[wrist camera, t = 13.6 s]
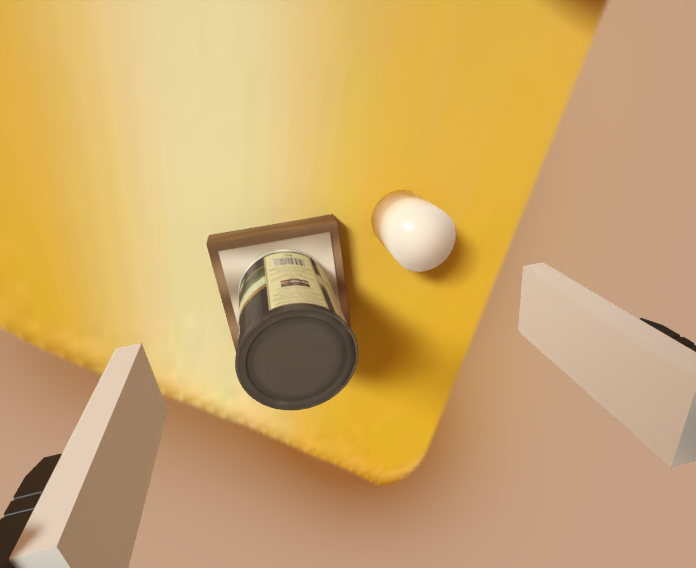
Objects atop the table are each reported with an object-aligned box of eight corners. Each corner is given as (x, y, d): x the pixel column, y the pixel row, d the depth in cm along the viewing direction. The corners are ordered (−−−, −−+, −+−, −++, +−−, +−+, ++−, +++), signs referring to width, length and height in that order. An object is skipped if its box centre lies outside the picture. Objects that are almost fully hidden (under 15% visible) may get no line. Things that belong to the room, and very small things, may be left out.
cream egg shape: (368, 195, 49) (389, 213, 42) (426, 185, 50) (455, 201, 43) (373, 251, 52) (394, 277, 45) (427, 241, 53) (455, 265, 46)
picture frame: (208, 235, 47) (206, 245, 44) (332, 214, 49) (337, 222, 46) (237, 340, 53) (236, 355, 50) (346, 318, 55) (351, 331, 52)
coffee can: (262, 343, 50) (267, 428, 37) (221, 270, 45) (211, 340, 33) (342, 309, 50) (374, 381, 38) (310, 233, 46) (334, 287, 33)
